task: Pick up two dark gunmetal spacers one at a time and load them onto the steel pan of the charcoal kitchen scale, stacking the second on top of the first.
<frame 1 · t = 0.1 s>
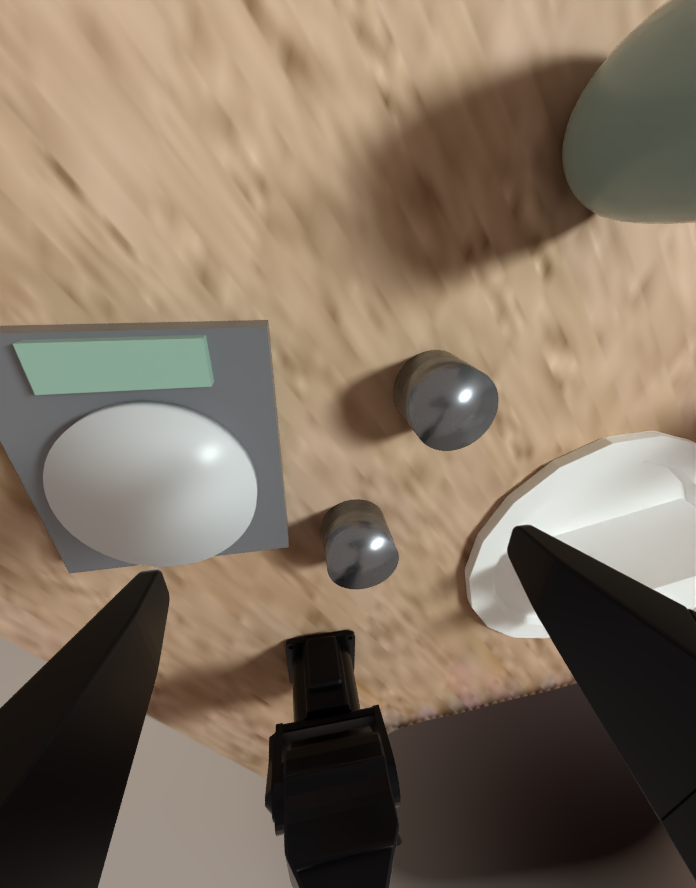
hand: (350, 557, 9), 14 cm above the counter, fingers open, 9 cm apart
cup: (604, 141, 18), on the counter
scale: (165, 448, 22), on the counter
spacer a: (352, 524, 28), on the counter
spacer b: (429, 388, 23), on the counter
dish: (582, 542, 35), on the counter
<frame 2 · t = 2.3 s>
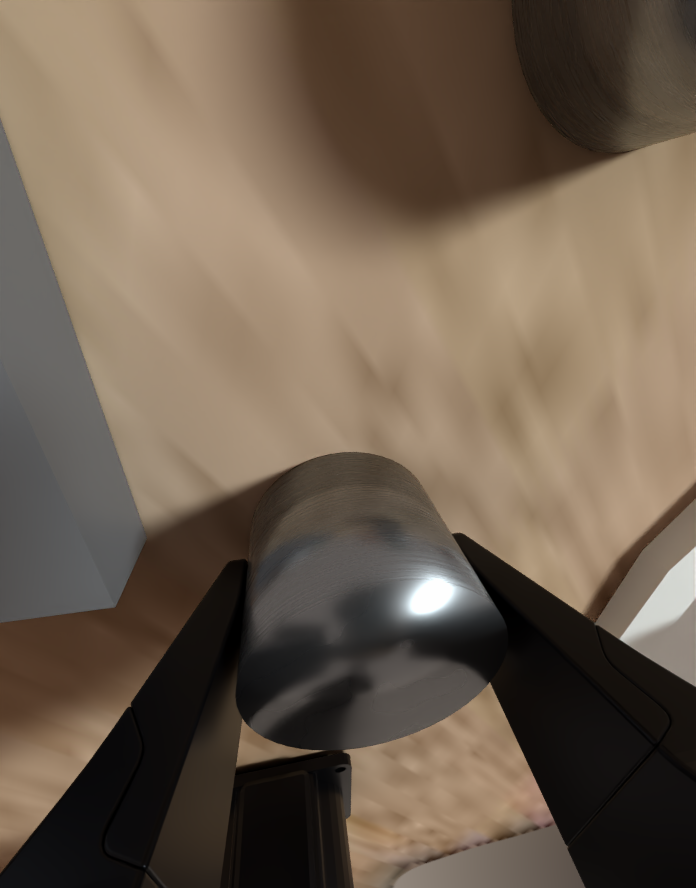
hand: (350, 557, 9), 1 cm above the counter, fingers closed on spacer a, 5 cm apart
spacer a: (343, 530, 10), on the counter, touching gripper
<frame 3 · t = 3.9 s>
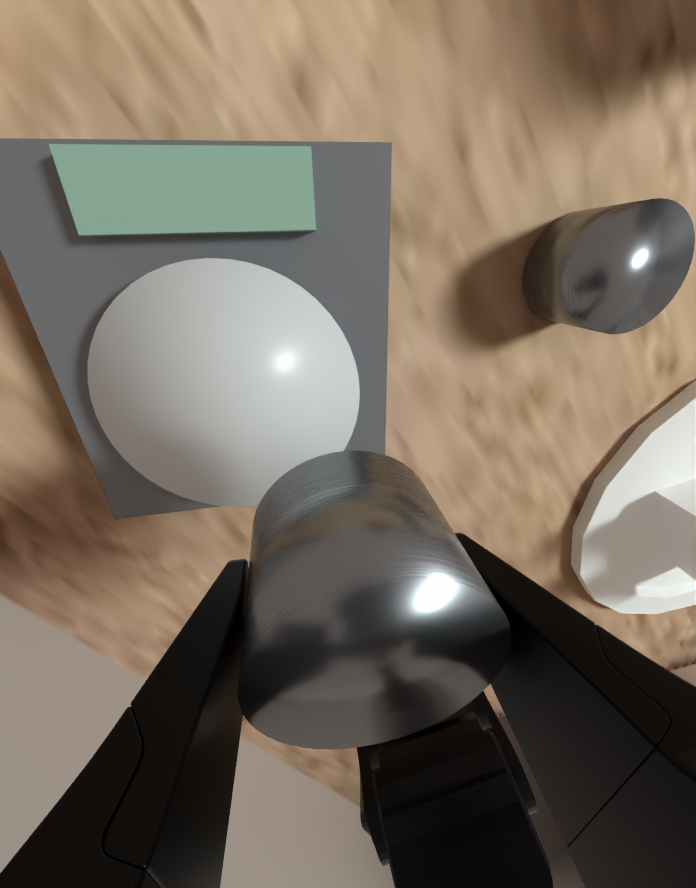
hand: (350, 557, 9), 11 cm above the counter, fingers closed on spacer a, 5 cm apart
scale: (235, 351, 17), on the counter
spacer a: (345, 528, 10), point 10 cm above the counter, touching gripper
spacer b: (567, 269, 18), on the counter
when the fingers open (5 cm above the counter, at t = 5.6 s): spacer a stays where it is, resting on scale.
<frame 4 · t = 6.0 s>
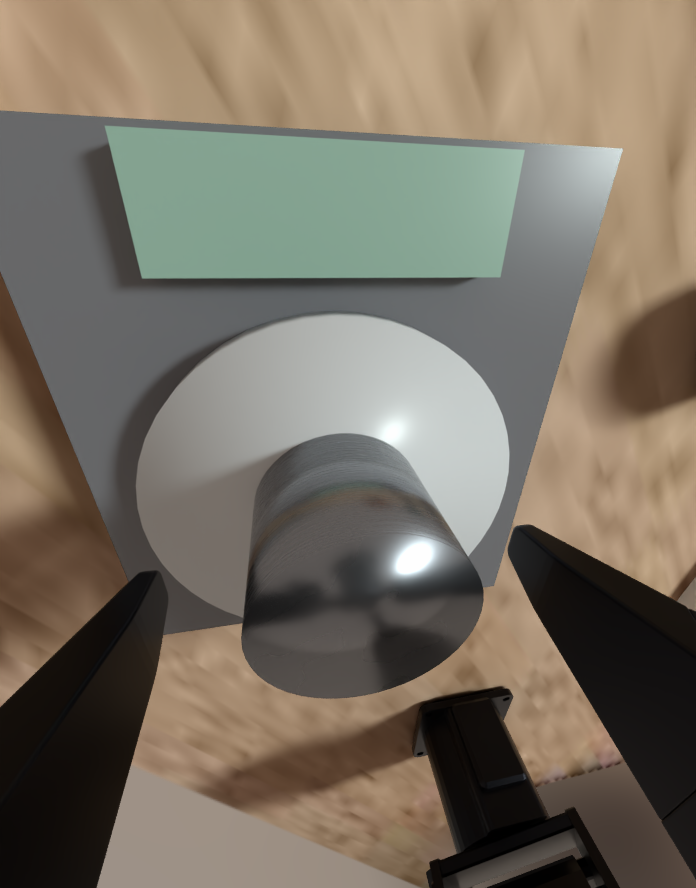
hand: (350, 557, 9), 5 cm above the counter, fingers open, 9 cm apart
scale: (325, 421, 13), on the counter
spacer a: (339, 507, 11), point 3 cm above the counter, touching scale
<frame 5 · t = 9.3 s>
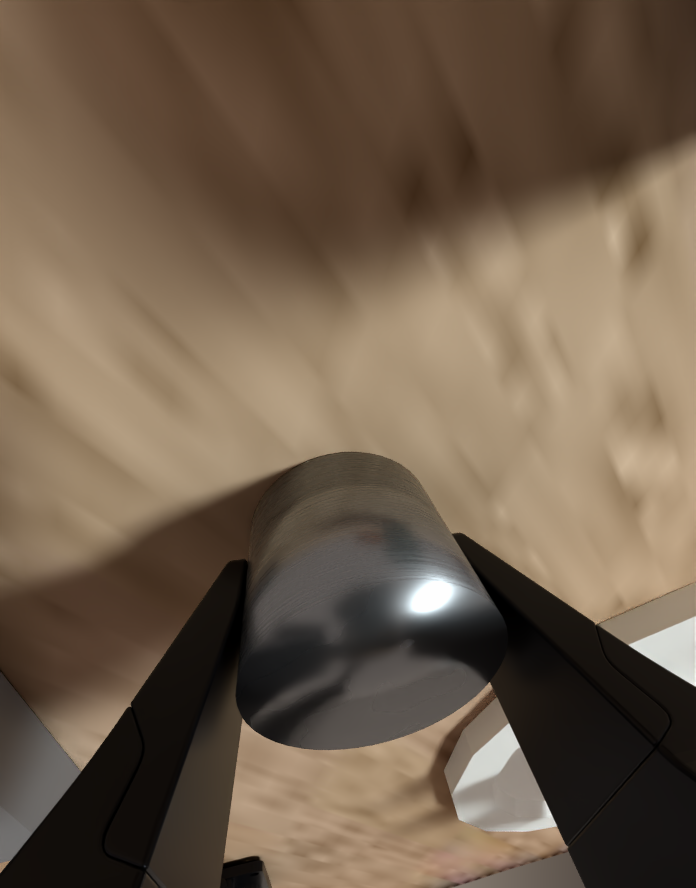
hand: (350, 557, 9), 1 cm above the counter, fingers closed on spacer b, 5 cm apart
spacer b: (343, 530, 10), on the counter, touching gripper
dish: (639, 707, 21), on the counter
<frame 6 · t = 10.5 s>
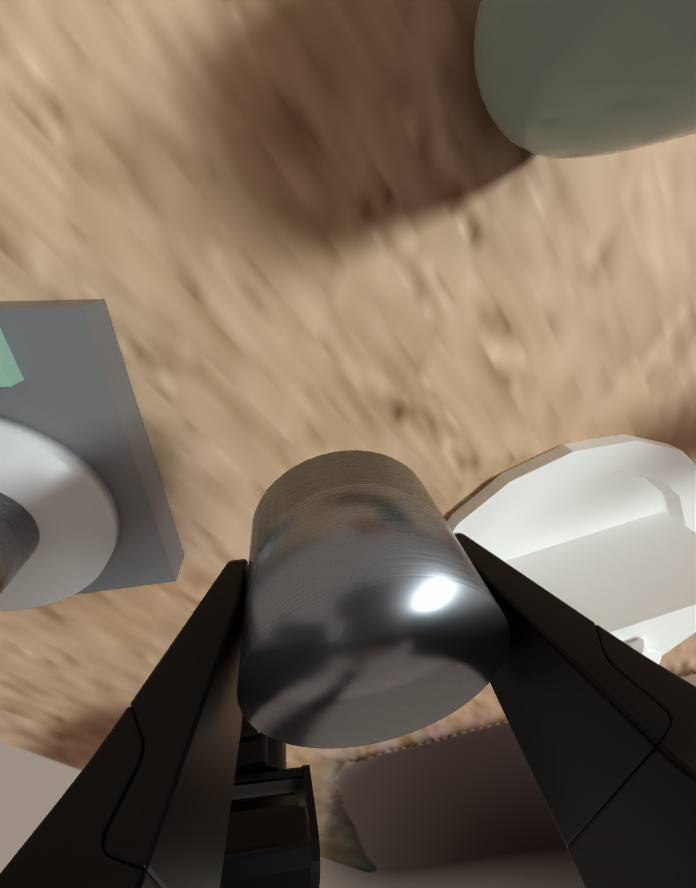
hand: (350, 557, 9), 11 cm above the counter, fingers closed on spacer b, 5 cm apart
cup: (537, 53, 14), on the counter
scale: (1, 464, 18), on the counter
spacer b: (344, 528, 10), point 10 cm above the counter, touching gripper
dish: (551, 563, 30), on the counter
when the fingers open (9 cm above the counter, at t = 12.2 s): spacer b stays where it is, resting on spacer a.
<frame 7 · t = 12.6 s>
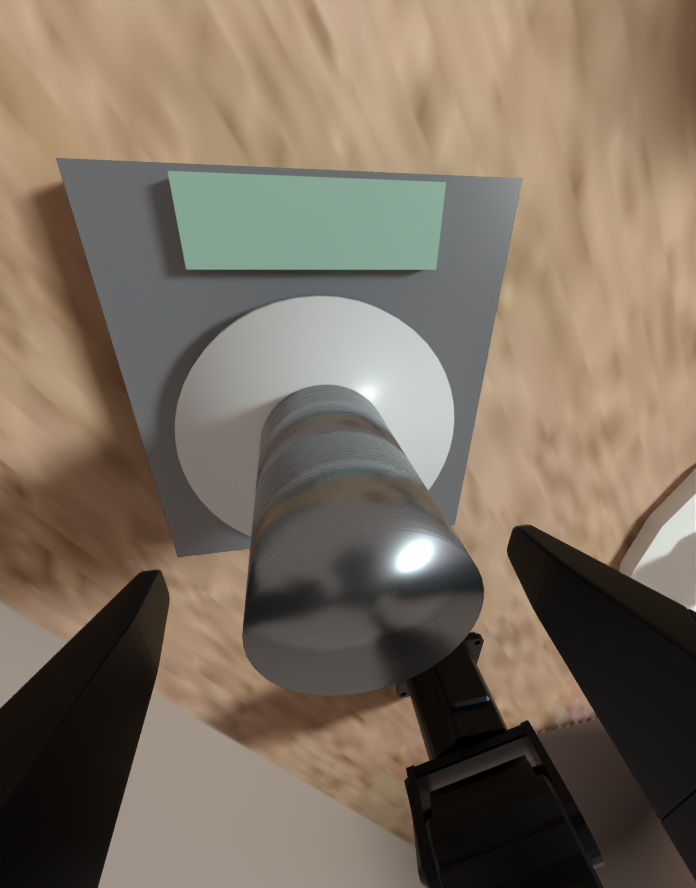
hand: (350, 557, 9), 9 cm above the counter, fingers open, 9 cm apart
scale: (315, 384, 16), on the counter
spacer a: (324, 444, 14), point 3 cm above the counter, touching scale, spacer b
spacer b: (339, 505, 11), point 7 cm above the counter, touching spacer a
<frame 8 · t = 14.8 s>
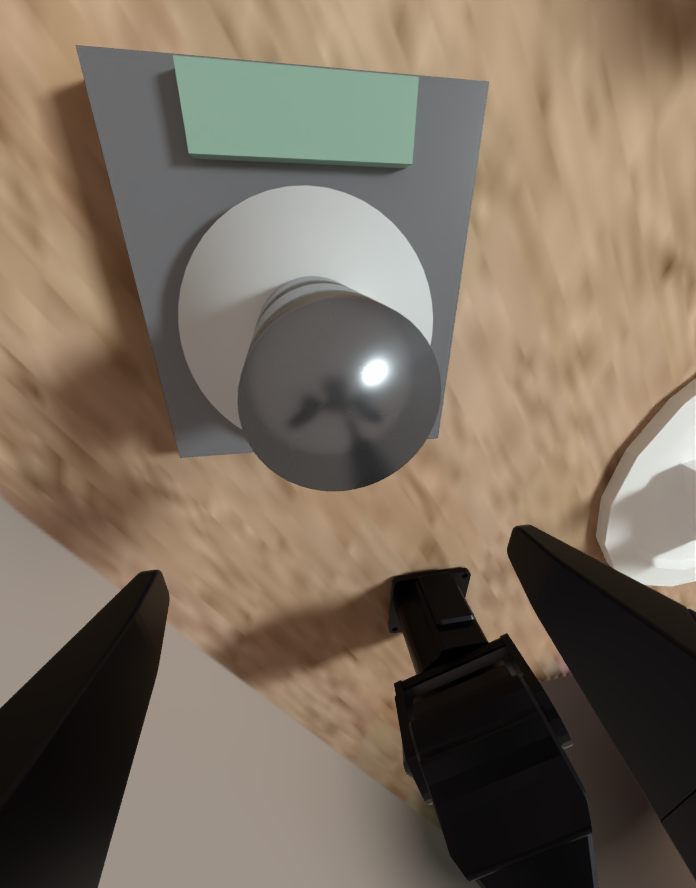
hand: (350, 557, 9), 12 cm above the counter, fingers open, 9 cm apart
scale: (306, 294, 17), on the counter
spacer a: (314, 338, 16), point 3 cm above the counter, touching scale, spacer b
spacer b: (325, 363, 12), point 7 cm above the counter, touching spacer a
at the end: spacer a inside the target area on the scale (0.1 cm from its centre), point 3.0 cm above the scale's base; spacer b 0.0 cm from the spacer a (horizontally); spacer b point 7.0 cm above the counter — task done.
